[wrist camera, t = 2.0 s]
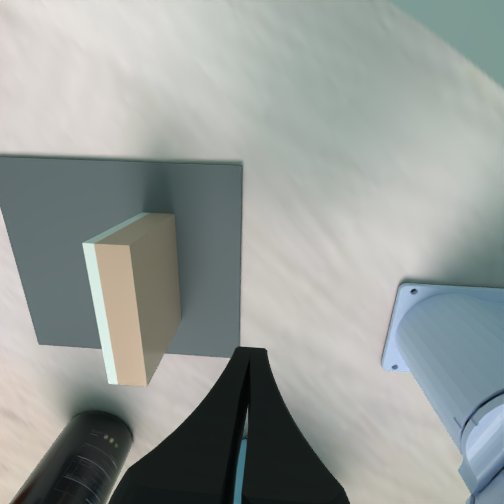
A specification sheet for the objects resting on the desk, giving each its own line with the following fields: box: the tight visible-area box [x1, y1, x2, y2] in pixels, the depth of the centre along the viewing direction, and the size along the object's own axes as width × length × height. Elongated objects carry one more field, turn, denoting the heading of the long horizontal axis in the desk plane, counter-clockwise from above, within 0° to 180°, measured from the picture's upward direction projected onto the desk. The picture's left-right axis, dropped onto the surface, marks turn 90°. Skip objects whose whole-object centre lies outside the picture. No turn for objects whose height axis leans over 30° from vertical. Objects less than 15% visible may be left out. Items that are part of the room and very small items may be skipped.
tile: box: [82, 212, 182, 387], centre depth 19 cm, size 2×9×7 cm, turn 178°
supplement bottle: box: [9, 411, 132, 504], centre depth 24 cm, size 7×7×12 cm
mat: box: [0, 157, 242, 358], centre depth 23 cm, size 18×16×1 cm
